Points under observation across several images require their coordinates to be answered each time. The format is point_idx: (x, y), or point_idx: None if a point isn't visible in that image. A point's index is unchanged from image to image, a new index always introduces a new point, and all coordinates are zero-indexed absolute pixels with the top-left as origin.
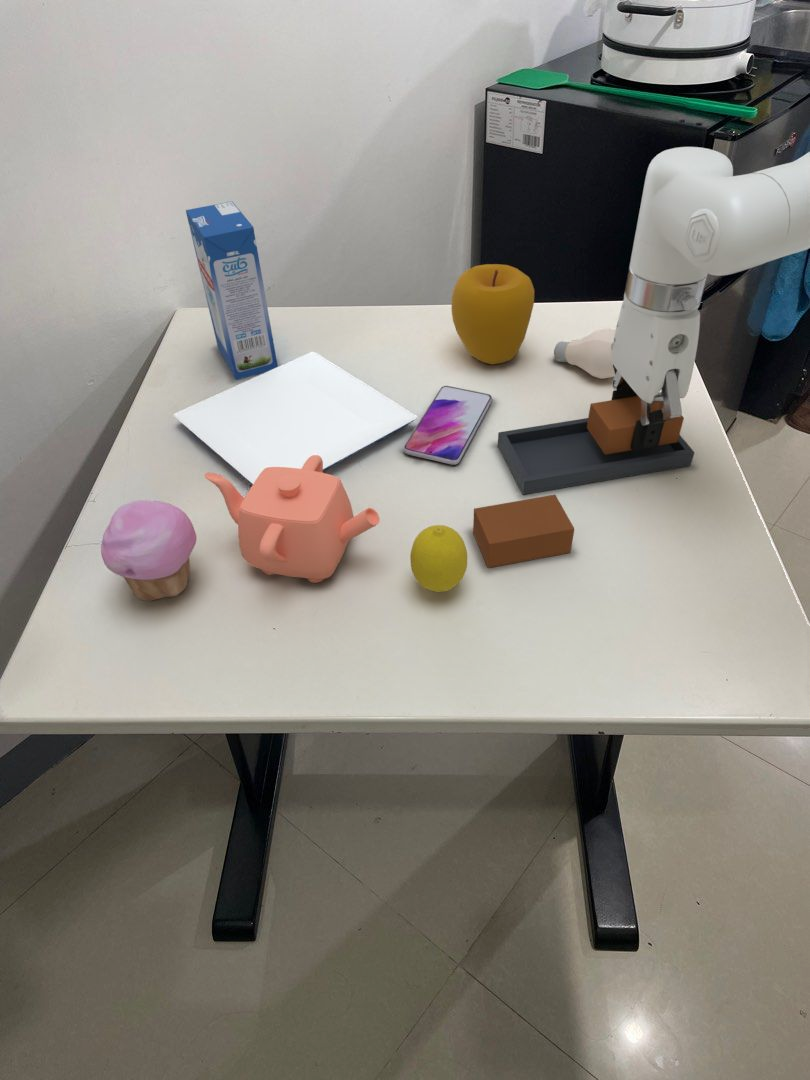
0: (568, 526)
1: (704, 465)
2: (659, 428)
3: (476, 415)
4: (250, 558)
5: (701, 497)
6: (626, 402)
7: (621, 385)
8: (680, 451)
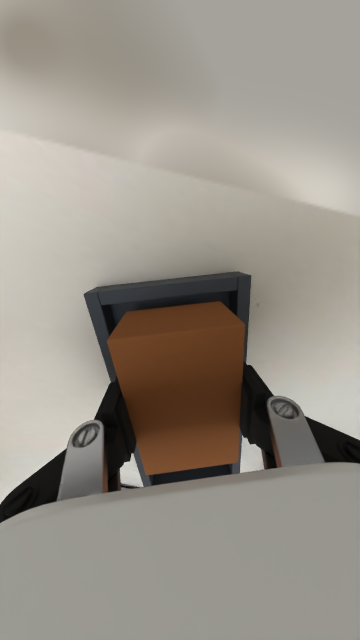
0: None
1: (242, 245)
2: (270, 393)
3: None
4: None
5: (309, 284)
6: (151, 426)
7: (116, 469)
8: (241, 301)
